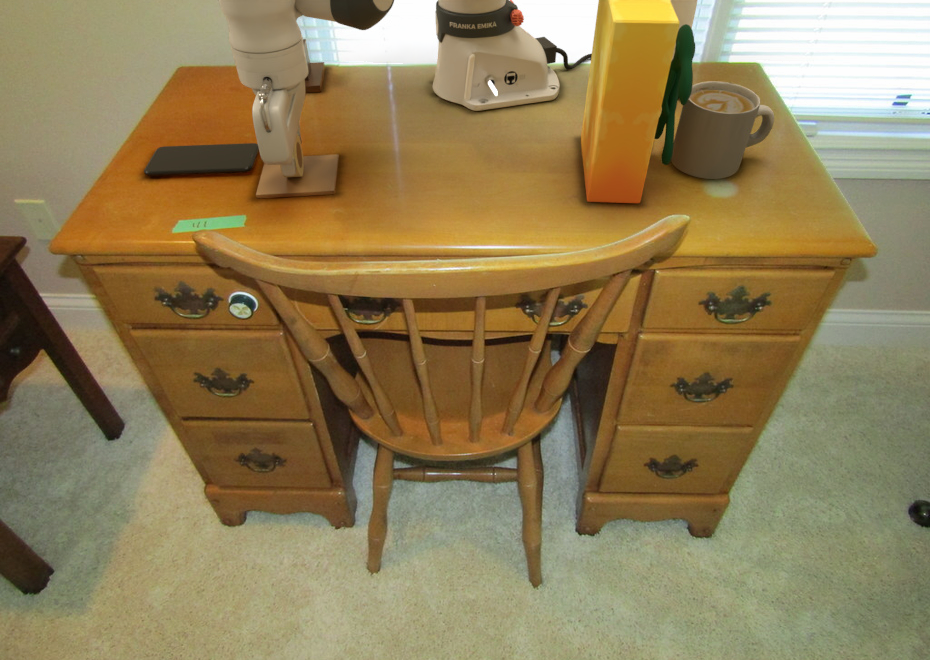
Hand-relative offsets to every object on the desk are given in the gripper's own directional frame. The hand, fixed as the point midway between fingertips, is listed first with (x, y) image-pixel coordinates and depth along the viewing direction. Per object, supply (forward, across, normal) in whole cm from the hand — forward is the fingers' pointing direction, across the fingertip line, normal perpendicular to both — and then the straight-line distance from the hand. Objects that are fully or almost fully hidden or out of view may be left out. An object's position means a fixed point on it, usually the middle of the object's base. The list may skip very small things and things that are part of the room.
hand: (293, 159), depth 91 cm
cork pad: (+3, 0, 0) cm, 3 cm away
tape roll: (+2, 0, 0) cm, 2 cm away
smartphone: (+3, +6, +14) cm, 16 cm away
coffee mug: (+3, -2, -62) cm, 62 cm away
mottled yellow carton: (+3, -3, -48) cm, 48 cm away
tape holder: (+3, +33, +4) cm, 33 cm away
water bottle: (+3, +22, -60) cm, 64 cm away
